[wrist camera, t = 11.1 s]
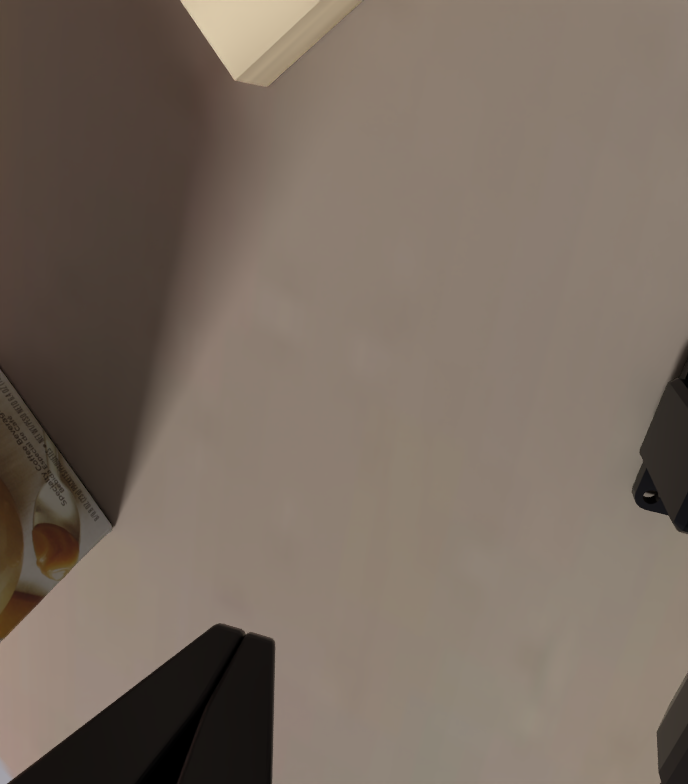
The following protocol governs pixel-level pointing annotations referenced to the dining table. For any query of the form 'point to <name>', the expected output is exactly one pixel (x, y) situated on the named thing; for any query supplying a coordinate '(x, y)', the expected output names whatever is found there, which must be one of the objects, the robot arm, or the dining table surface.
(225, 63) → the board
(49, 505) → the coffee box
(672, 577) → the dining table surface
